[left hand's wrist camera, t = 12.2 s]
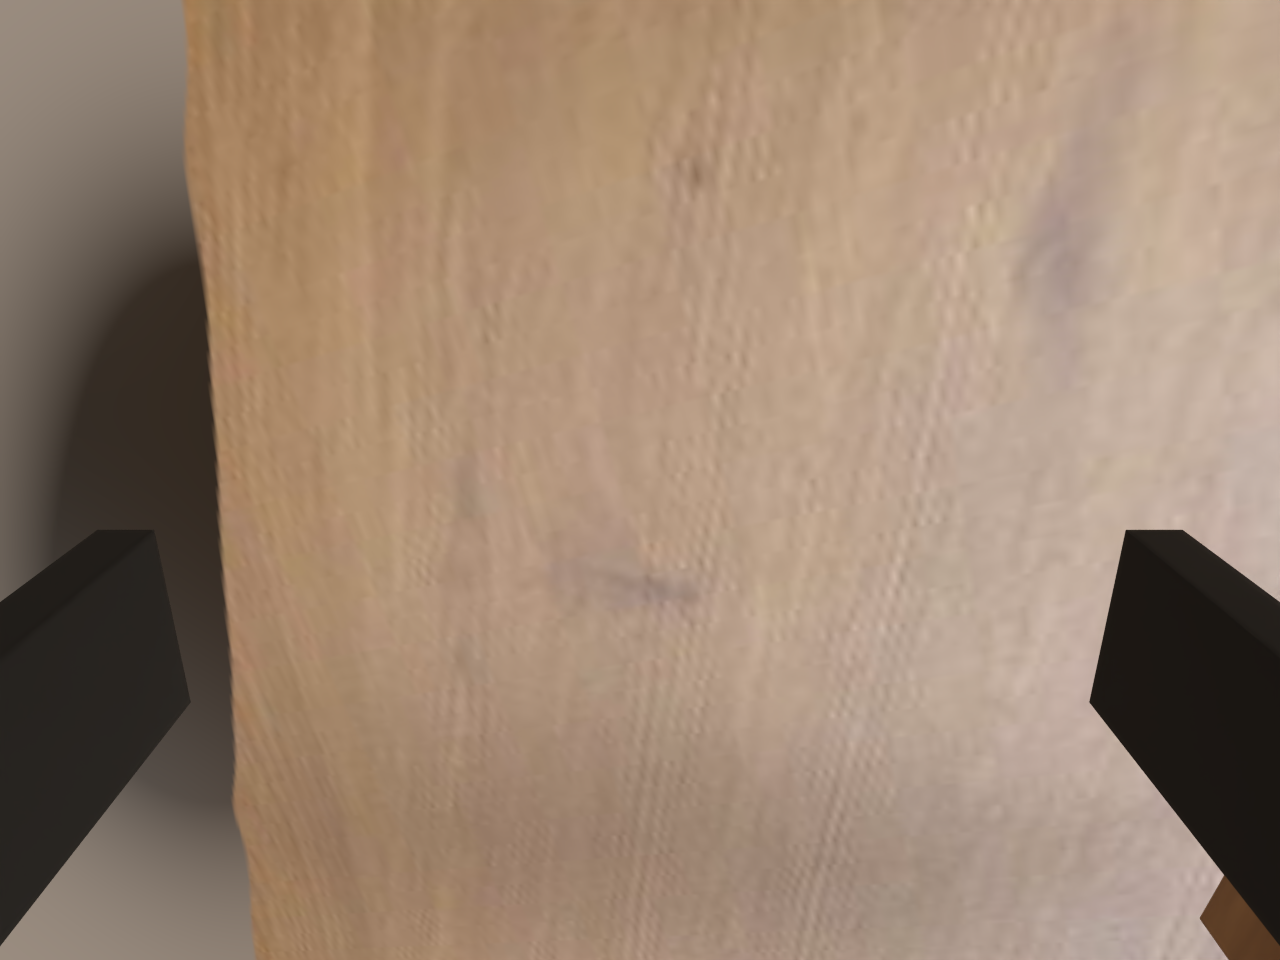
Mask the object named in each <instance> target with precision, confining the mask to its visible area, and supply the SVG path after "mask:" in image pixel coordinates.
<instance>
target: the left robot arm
mask: <svg viewBox="0 0 1280 960" xmlns="http://www.w3.org/2000/svg"><path fill="white" fill-rule="evenodd" d="M189 704H190V697H189V693H188V688H187V683H186V678H185V673H184V669H183V664H182V659H181V655H180V650H179V645H178V641H177V636H176V631H175V626H174V622H173V617H172V612H171V607H170V603H169V598H168V593H167V589H166V584H165V579H164V574H163V570H162V565H161V560H160V555H159V551H158V546H157V541H156V537H155V532H154V530H97V531H95V532H94V533H93V534H91V535H90V536H89V537H87V538H86V539H85V540H83V541H82V542H81V543H79V544H78V545H76V546H75V547H74V548H72V549H71V550H70V551H68V552H67V553H66V554H64V555H63V556H62V557H60V558H59V559H58V560H56V561H55V562H54V563H52V564H51V565H50V566H48V567H47V568H46V569H44V570H43V571H42V572H40V573H39V574H37V575H36V576H35V577H33V578H32V579H31V580H29V581H28V582H27V583H25V584H24V585H23V586H21V587H20V588H19V589H17V590H16V591H15V592H13V593H12V594H11V595H9V596H8V597H7V598H5V599H4V600H2V601H1V602H0V946H1V944H2V943H3V942H4V940H5V939H6V938H7V937H8V935H9V934H10V933H11V931H12V930H13V929H14V928H15V926H16V925H17V924H18V923H19V921H20V920H21V919H22V917H23V916H24V915H25V914H26V912H27V911H28V910H29V908H30V907H31V906H32V905H33V903H34V902H35V901H36V899H37V898H38V897H39V896H40V894H41V893H42V892H43V891H44V889H45V888H46V887H47V885H48V884H49V883H50V882H51V880H52V879H53V878H54V876H55V875H56V874H57V873H58V871H59V870H60V869H61V867H62V866H63V865H64V864H65V862H66V861H67V860H68V858H69V857H70V856H71V855H72V853H73V852H74V851H75V850H76V848H77V847H78V846H79V844H80V843H81V842H82V841H83V839H84V838H85V837H86V835H87V834H88V833H89V832H90V830H91V829H92V828H93V827H94V825H95V824H96V823H97V821H98V820H99V819H100V818H101V816H102V815H103V814H104V812H105V811H106V810H107V809H108V807H109V806H110V805H111V803H112V802H113V801H114V800H115V798H116V797H117V796H118V795H119V793H120V792H121V791H122V789H123V788H124V787H125V785H126V784H127V783H128V782H129V780H130V779H131V778H132V777H133V775H134V774H135V773H136V771H137V770H138V769H139V768H140V766H141V765H142V764H143V762H144V761H145V760H146V759H147V757H148V756H149V755H150V754H151V752H152V751H153V750H154V748H155V747H156V746H157V745H158V743H159V742H160V741H161V739H162V738H163V737H164V736H165V734H166V733H167V732H168V730H169V729H170V728H171V727H172V725H173V724H174V723H175V721H176V720H177V719H178V718H179V716H180V715H181V714H182V713H183V711H184V710H185V709H186V707H187V706H188V705H189ZM1090 704H1091V705H1092V706H1093V707H1094V709H1095V710H1096V711H1097V713H1098V714H1099V715H1100V716H1101V718H1102V719H1103V720H1104V722H1105V723H1106V724H1107V725H1108V727H1109V728H1110V729H1111V731H1112V732H1113V733H1114V734H1115V736H1116V737H1117V738H1118V739H1119V741H1120V742H1121V743H1122V745H1123V746H1124V747H1125V748H1126V750H1127V751H1128V752H1129V754H1130V755H1131V756H1132V757H1133V759H1134V760H1135V761H1136V763H1137V764H1138V765H1139V766H1140V768H1141V769H1142V770H1143V771H1144V773H1145V774H1146V775H1147V777H1148V778H1149V779H1150V780H1151V782H1152V783H1153V784H1154V786H1155V787H1156V788H1157V789H1158V791H1159V792H1160V793H1161V795H1162V796H1163V797H1164V798H1165V800H1166V801H1167V802H1168V803H1169V805H1170V806H1171V807H1172V809H1173V810H1174V811H1175V812H1176V814H1177V815H1178V816H1179V818H1180V819H1181V820H1182V821H1183V823H1184V824H1185V825H1186V827H1187V828H1188V829H1189V830H1190V832H1191V833H1192V834H1193V835H1194V837H1195V838H1196V839H1197V841H1198V842H1199V843H1200V844H1201V846H1202V847H1203V848H1204V850H1205V851H1206V852H1207V853H1208V855H1209V856H1210V857H1211V859H1212V860H1213V861H1214V862H1215V864H1216V865H1217V866H1218V867H1219V869H1220V870H1221V871H1222V873H1223V874H1224V875H1225V876H1226V878H1227V879H1228V880H1229V882H1230V883H1231V884H1232V885H1233V887H1234V888H1235V889H1236V891H1237V892H1238V893H1239V894H1240V896H1241V897H1242V898H1243V900H1244V901H1245V902H1246V903H1247V905H1248V906H1249V907H1250V908H1251V910H1252V911H1253V912H1254V914H1255V915H1256V916H1257V917H1258V919H1259V920H1260V921H1261V923H1262V924H1263V925H1264V926H1265V928H1266V929H1267V930H1268V932H1269V933H1270V934H1271V935H1272V937H1273V938H1274V939H1275V940H1276V942H1277V943H1278V944H1279V946H1280V602H1279V601H1278V600H1276V599H1275V598H1274V597H1272V596H1271V595H1269V594H1268V593H1267V592H1265V591H1264V590H1263V589H1261V588H1260V587H1259V586H1257V585H1256V584H1255V583H1253V582H1252V581H1251V580H1249V579H1248V578H1247V577H1245V576H1244V575H1243V574H1241V573H1240V572H1239V571H1237V570H1236V569H1234V568H1233V567H1232V566H1230V565H1229V564H1228V563H1226V562H1225V561H1224V560H1222V559H1221V558H1220V557H1218V556H1217V555H1216V554H1214V553H1213V552H1212V551H1210V550H1209V549H1208V548H1206V547H1205V546H1204V545H1202V544H1201V543H1199V542H1198V541H1197V540H1195V539H1194V538H1193V537H1191V536H1190V535H1189V534H1187V533H1186V532H1185V531H1183V530H1126V532H1125V537H1124V541H1123V546H1122V551H1121V555H1120V560H1119V565H1118V570H1117V574H1116V579H1115V584H1114V588H1113V593H1112V598H1111V603H1110V607H1109V612H1108V617H1107V622H1106V626H1105V631H1104V636H1103V640H1102V645H1101V650H1100V655H1099V659H1098V664H1097V669H1096V673H1095V678H1094V683H1093V688H1092V692H1091V697H1090Z"/></svg>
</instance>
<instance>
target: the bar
mask: <svg viewBox="0 0 1280 960" xmlns="http://www.w3.org/2000/svg"><path fill="white" fill-rule="evenodd" d="M1200 920H1201V921H1202V923H1203V924H1204V925H1205V927H1206V928H1207V930H1208V931H1209V932H1210V934H1211V935H1212V937H1213V938H1214V940H1215V941H1216V942H1217V944H1218V945H1219V947H1220V948H1221V950H1222V951H1223V952H1224V954H1225V955H1226V957H1227V958H1228V959H1229V960H1280V946H1279V944H1278V943H1277V942H1276V940H1275V939H1274V938H1273V937H1272V935H1271V934H1270V933H1269V932H1268V930H1267V929H1266V928H1265V926H1264V925H1263V924H1262V923H1261V921H1260V920H1259V919H1258V917H1257V916H1256V915H1255V914H1254V912H1253V911H1252V910H1251V908H1250V907H1249V906H1248V905H1247V903H1246V902H1245V901H1244V900H1243V898H1242V897H1241V896H1240V894H1239V893H1238V892H1237V891H1236V889H1235V888H1234V887H1233V885H1232V884H1231V883H1230V882H1229V880H1228V879H1227V878H1226V876H1225V875H1224V877H1223V878H1222V880H1221V882H1220V884H1219V885H1218V887H1217V889H1216V891H1215V892H1214V894H1213V896H1212V898H1211V899H1210V901H1209V903H1208V905H1207V906H1206V908H1205V910H1204V912H1203V913H1202V915H1201V917H1200Z"/></svg>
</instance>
